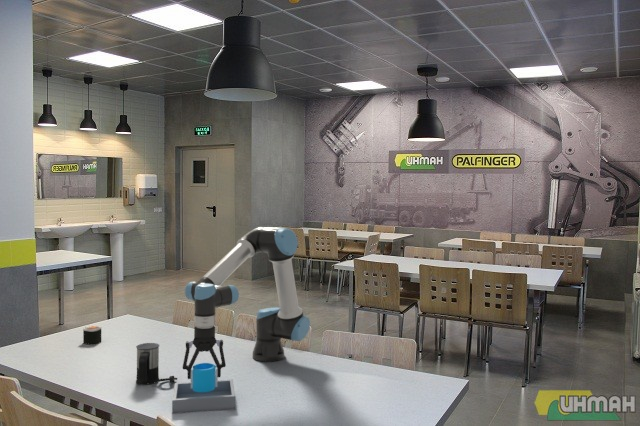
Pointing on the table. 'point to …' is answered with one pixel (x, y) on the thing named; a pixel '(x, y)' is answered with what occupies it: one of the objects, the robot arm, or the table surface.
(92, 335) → the sushi
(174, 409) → the box
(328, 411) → the table surface
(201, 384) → the mug
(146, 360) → the milk frother
